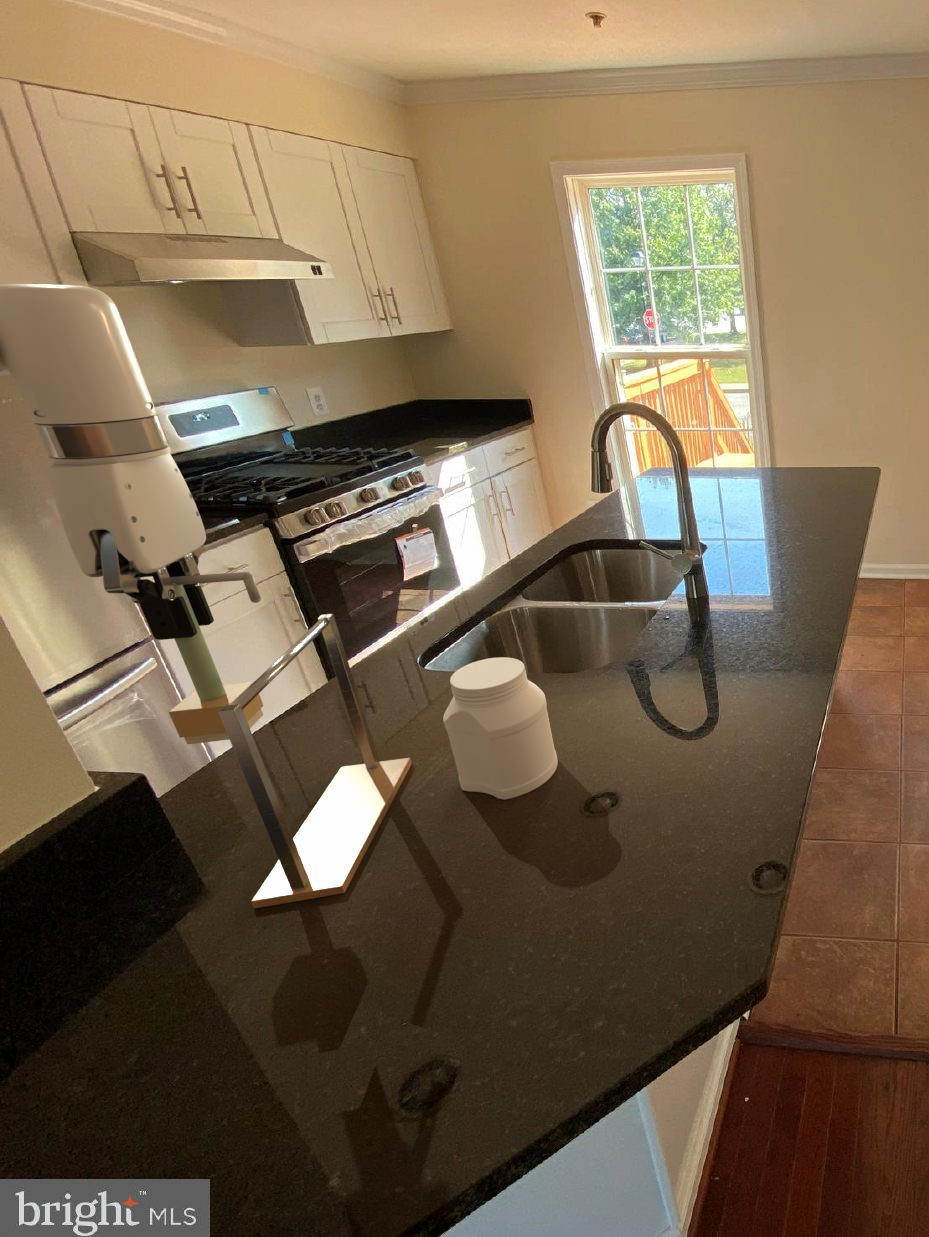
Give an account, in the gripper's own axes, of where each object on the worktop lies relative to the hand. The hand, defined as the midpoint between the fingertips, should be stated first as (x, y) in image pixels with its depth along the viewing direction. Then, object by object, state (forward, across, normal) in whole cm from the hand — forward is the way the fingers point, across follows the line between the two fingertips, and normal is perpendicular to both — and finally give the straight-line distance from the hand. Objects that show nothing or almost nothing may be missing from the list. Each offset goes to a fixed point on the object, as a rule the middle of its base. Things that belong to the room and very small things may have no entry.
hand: (185, 629), depth 67 cm
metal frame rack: (+27, -2, +6) cm, 28 cm away
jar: (+27, -8, +23) cm, 37 cm away
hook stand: (+11, 0, +2) cm, 12 cm away
